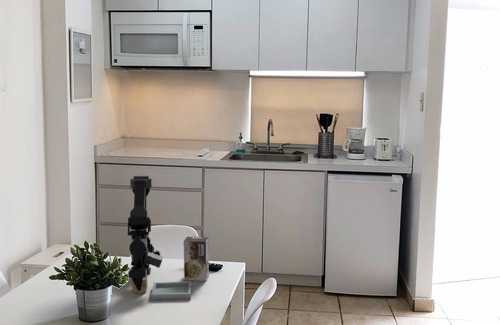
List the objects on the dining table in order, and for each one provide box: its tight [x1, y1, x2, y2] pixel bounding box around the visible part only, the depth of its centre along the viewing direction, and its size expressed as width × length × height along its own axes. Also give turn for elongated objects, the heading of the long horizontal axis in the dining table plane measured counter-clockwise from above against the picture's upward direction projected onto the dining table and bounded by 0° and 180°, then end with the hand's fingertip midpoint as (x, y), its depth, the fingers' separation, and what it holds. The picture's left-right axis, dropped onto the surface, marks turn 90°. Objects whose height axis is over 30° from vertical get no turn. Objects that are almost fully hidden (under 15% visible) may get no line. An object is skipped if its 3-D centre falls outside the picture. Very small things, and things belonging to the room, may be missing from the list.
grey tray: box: [150, 281, 192, 301], centre depth 209 cm, size 12×14×2 cm
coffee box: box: [183, 236, 210, 282], centre depth 224 cm, size 9×6×16 cm
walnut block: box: [131, 274, 148, 294], centre depth 211 cm, size 5×5×5 cm
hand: (140, 287), depth 211 cm, fingers closed on walnut block, 5 cm apart
